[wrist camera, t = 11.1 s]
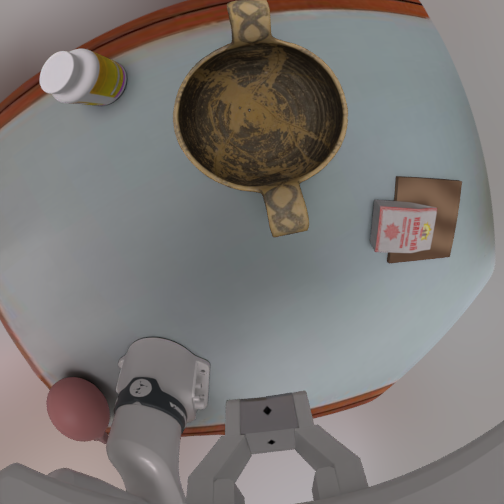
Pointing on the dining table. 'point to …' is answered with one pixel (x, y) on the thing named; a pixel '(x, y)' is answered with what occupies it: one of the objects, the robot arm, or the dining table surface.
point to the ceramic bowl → (261, 116)
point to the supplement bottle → (82, 78)
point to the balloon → (78, 410)
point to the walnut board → (447, 204)
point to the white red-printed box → (402, 226)
